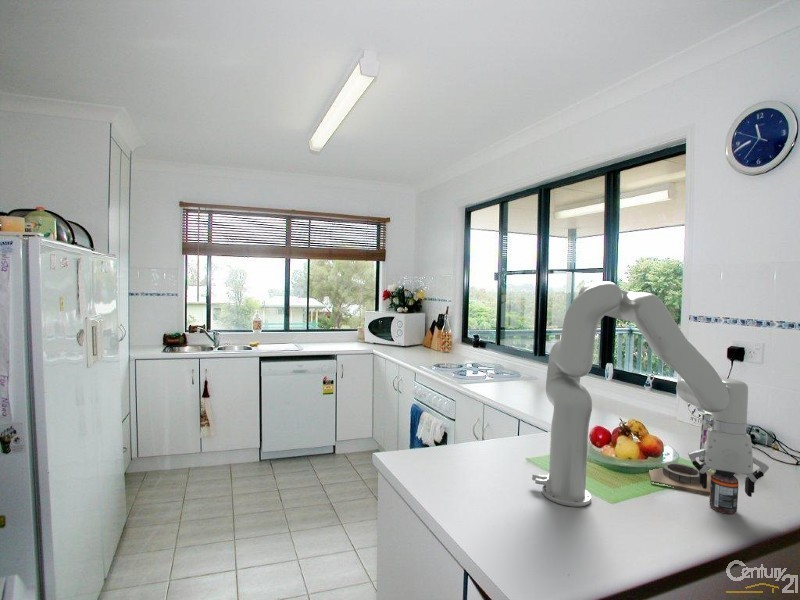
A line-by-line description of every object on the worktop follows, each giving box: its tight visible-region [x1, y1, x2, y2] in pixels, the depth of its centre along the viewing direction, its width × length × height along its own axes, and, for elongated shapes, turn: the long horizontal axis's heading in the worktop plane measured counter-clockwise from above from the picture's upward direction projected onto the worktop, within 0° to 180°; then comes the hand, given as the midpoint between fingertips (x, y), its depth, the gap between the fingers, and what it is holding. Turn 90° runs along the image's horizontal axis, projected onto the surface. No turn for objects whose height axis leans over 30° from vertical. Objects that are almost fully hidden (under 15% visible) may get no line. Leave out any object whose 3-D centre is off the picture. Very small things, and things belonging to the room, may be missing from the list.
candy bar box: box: [698, 410, 712, 462], centre depth 155 cm, size 11×5×16 cm, turn 145°
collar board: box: [648, 462, 713, 496], centre depth 136 cm, size 18×18×3 cm
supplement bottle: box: [708, 470, 739, 515], centre depth 117 cm, size 6×6×11 cm
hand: (725, 490), depth 117 cm, fingers open, 9 cm apart
